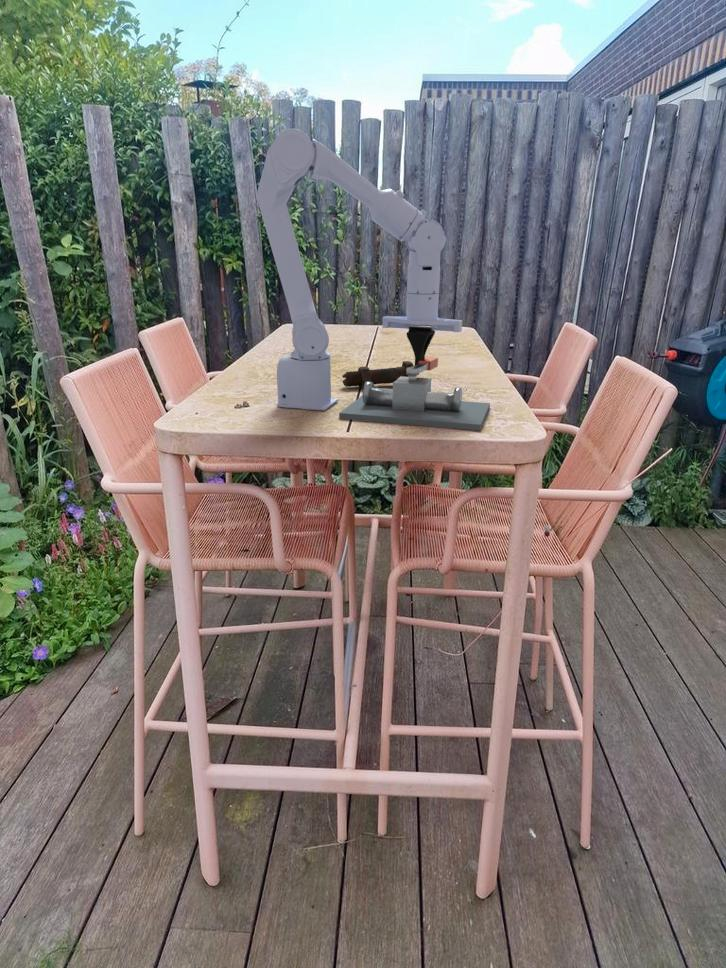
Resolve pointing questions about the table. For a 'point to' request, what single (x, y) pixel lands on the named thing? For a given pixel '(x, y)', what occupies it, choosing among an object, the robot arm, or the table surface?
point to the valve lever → (423, 366)
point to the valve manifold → (412, 396)
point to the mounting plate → (420, 415)
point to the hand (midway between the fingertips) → (419, 369)
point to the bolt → (375, 375)
